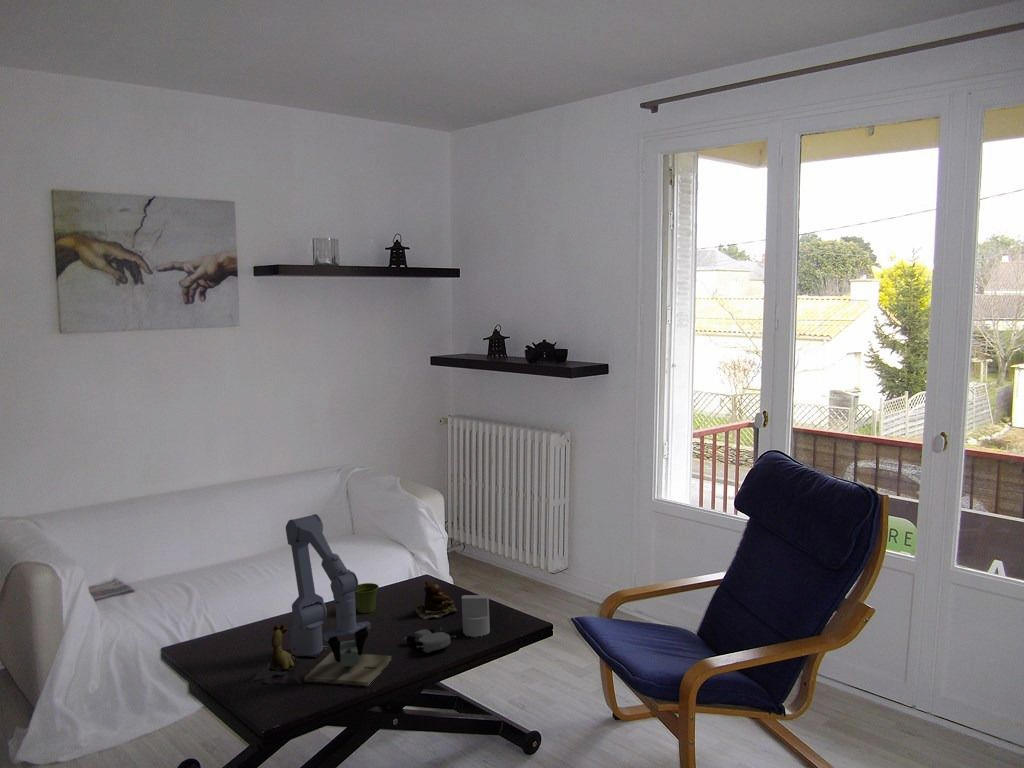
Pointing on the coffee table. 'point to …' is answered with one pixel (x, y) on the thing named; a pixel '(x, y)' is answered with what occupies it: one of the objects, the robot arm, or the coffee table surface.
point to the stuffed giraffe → (280, 652)
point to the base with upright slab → (475, 615)
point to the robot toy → (430, 640)
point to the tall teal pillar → (348, 653)
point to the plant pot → (366, 597)
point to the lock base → (349, 670)
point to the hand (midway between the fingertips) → (348, 657)
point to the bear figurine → (435, 603)
